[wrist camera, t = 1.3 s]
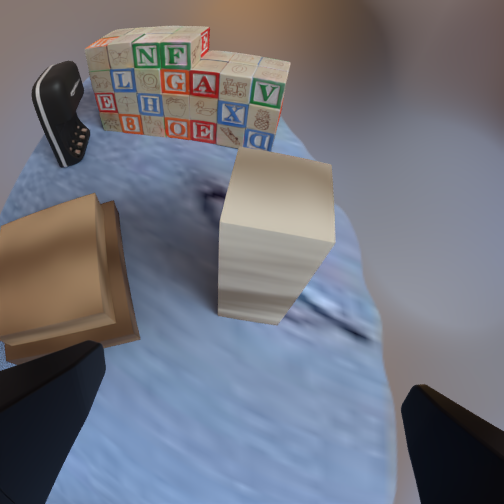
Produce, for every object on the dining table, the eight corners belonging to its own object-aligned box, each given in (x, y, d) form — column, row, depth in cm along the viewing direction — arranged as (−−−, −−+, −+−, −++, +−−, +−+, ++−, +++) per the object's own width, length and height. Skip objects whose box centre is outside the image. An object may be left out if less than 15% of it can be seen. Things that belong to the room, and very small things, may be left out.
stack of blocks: (278, 126, 34) (297, 38, 23) (270, 157, 30) (292, 55, 20) (125, 105, 34) (114, 28, 23) (102, 131, 30) (82, 47, 20)
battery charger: (88, 164, 27) (59, 78, 17) (60, 171, 27) (26, 90, 17) (97, 128, 31) (78, 52, 21) (71, 135, 30) (49, 62, 20)
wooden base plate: (142, 341, 20) (133, 333, 18) (22, 366, 17) (6, 361, 15) (120, 216, 25) (113, 200, 23) (19, 249, 22) (7, 236, 20)
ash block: (277, 325, 21) (335, 242, 11) (217, 315, 21) (219, 222, 11) (282, 272, 24) (331, 164, 13) (228, 263, 23) (239, 146, 13)
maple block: (116, 323, 18) (103, 312, 16) (11, 345, 16) (-7, 337, 13) (103, 211, 22) (94, 192, 20) (14, 240, 20) (1, 226, 18)
